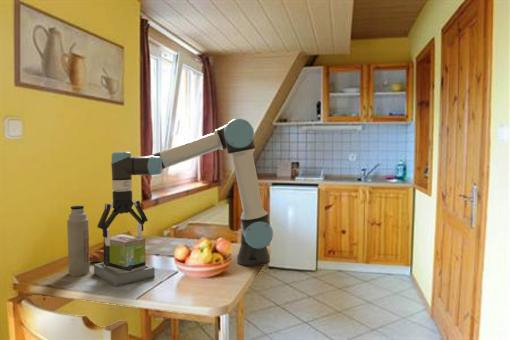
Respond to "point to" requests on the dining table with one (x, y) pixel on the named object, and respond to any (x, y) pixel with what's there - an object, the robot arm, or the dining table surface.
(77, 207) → the thermos bottle
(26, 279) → the dining table surface
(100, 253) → the croissant
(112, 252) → the tea box
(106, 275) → the tray
